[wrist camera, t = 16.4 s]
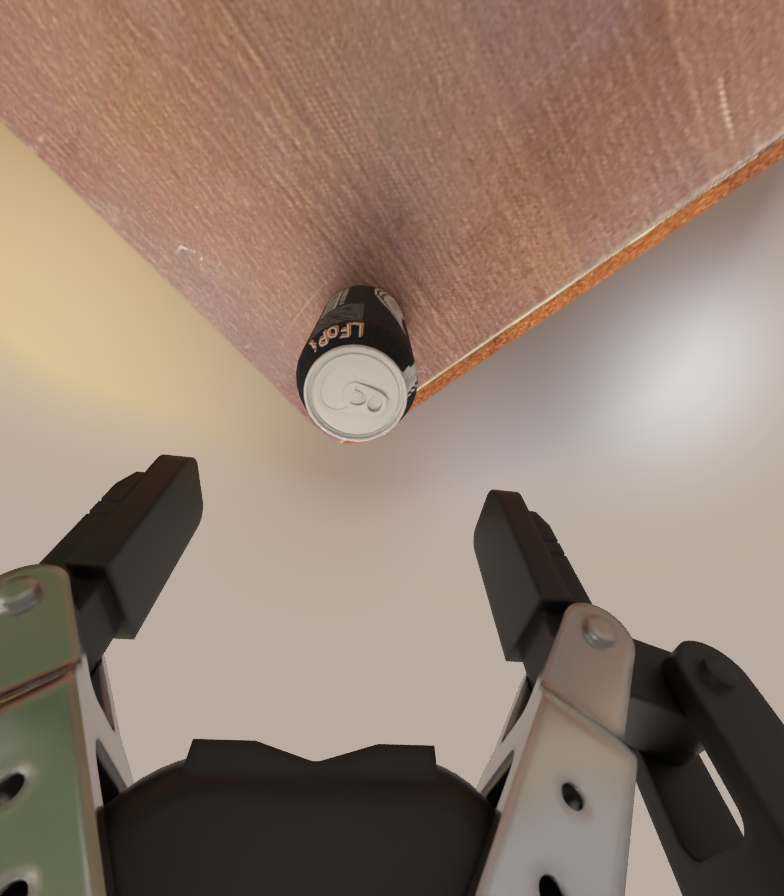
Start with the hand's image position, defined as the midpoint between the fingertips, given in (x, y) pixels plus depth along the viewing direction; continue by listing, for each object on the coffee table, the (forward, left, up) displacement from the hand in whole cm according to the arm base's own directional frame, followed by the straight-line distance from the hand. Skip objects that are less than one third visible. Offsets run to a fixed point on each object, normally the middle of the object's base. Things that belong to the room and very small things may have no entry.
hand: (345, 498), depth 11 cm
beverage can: (0, 0, -19) cm, 19 cm away
